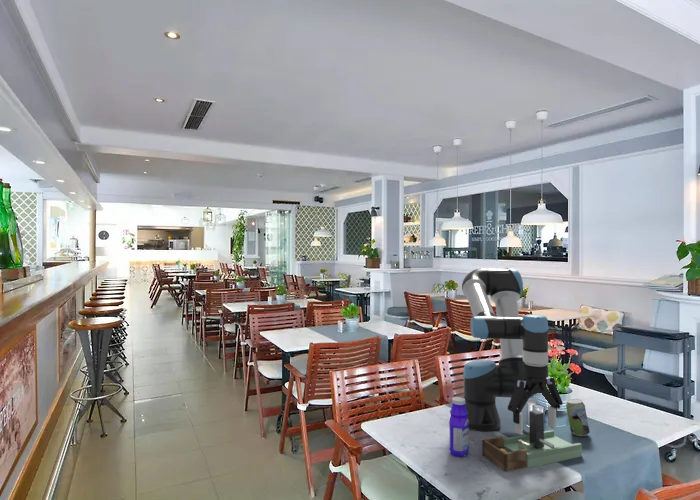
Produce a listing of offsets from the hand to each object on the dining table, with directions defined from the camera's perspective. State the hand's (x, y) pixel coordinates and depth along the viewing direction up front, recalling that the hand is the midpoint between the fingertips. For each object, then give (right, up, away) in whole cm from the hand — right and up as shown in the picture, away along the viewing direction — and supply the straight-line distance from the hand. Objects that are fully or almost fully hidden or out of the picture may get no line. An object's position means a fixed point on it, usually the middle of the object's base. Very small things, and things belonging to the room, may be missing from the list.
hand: (535, 430), depth 138 cm
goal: (-11, -8, -4) cm, 14 cm away
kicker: (-2, -5, -1) cm, 5 cm away
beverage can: (+22, -8, +16) cm, 28 cm away
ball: (-12, -7, -5) cm, 15 cm away
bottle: (-24, -8, +1) cm, 25 cm away
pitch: (+2, -8, +1) cm, 8 cm away
